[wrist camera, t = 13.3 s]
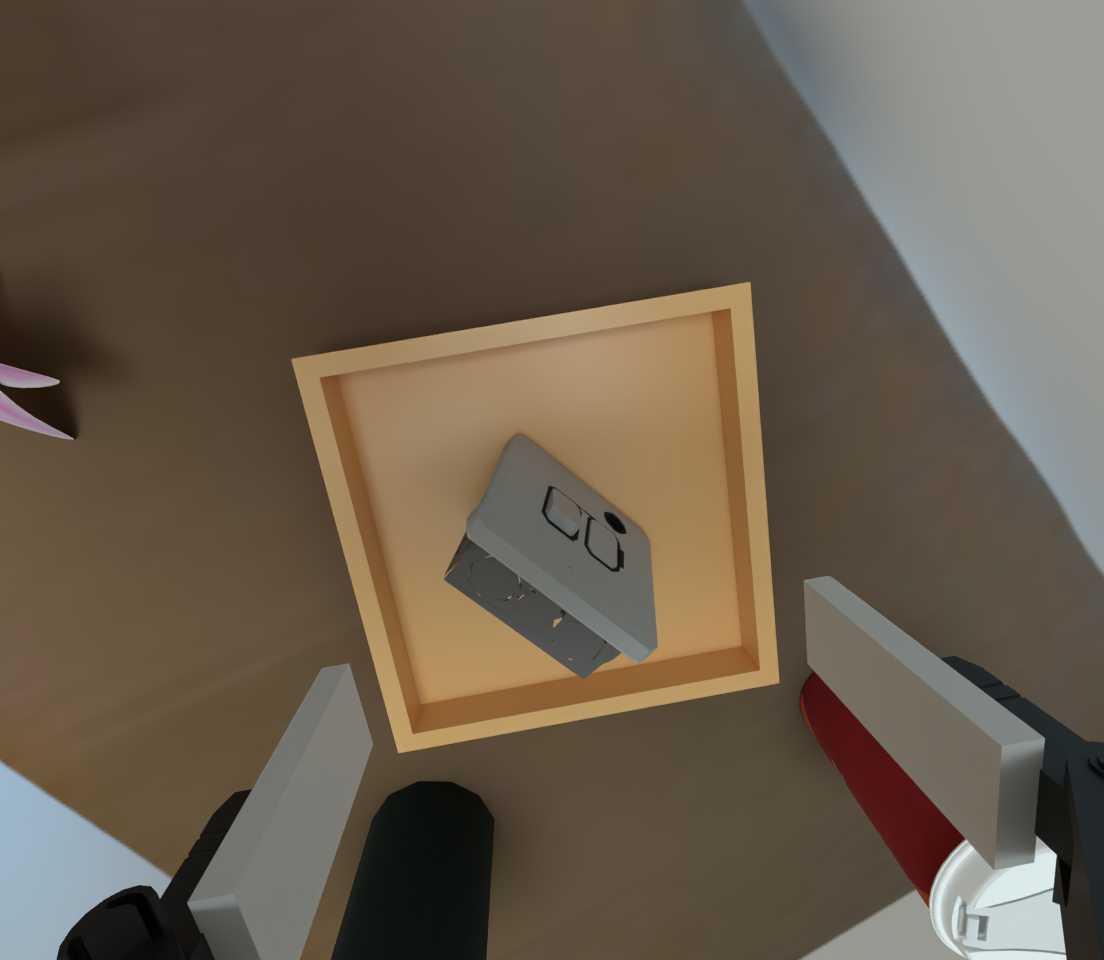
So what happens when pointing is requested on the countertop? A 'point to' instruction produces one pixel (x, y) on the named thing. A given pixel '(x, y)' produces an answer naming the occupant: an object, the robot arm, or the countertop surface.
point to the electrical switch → (557, 563)
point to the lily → (12, 413)
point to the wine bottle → (422, 879)
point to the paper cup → (940, 848)
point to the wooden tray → (591, 455)
